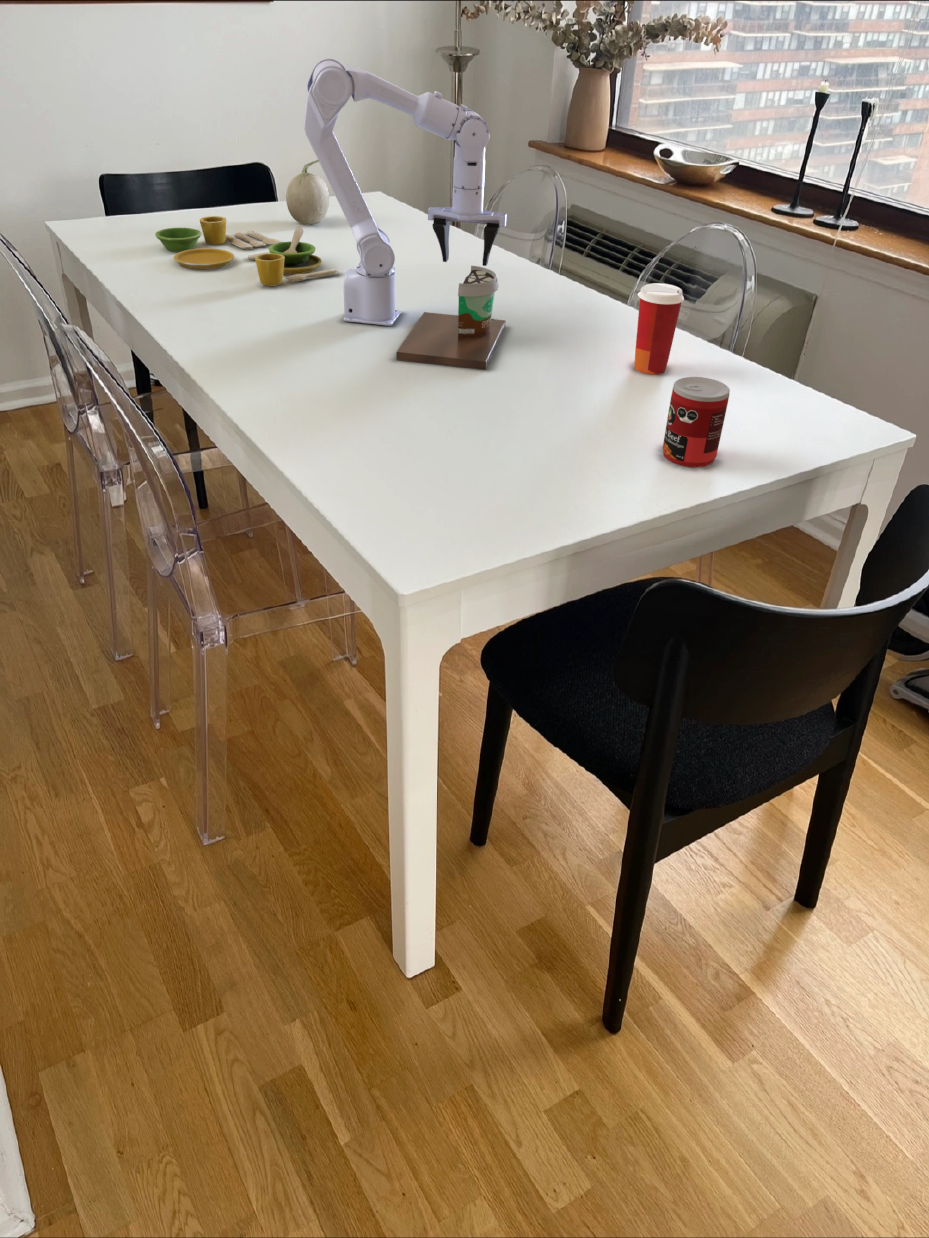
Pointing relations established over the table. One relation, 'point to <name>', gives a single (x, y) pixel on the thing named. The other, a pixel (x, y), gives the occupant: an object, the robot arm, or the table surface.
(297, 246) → the tableware set
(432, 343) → the walnut board
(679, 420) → the canned food
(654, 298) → the paper cup
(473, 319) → the food container
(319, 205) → the fruit
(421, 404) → the table surface
